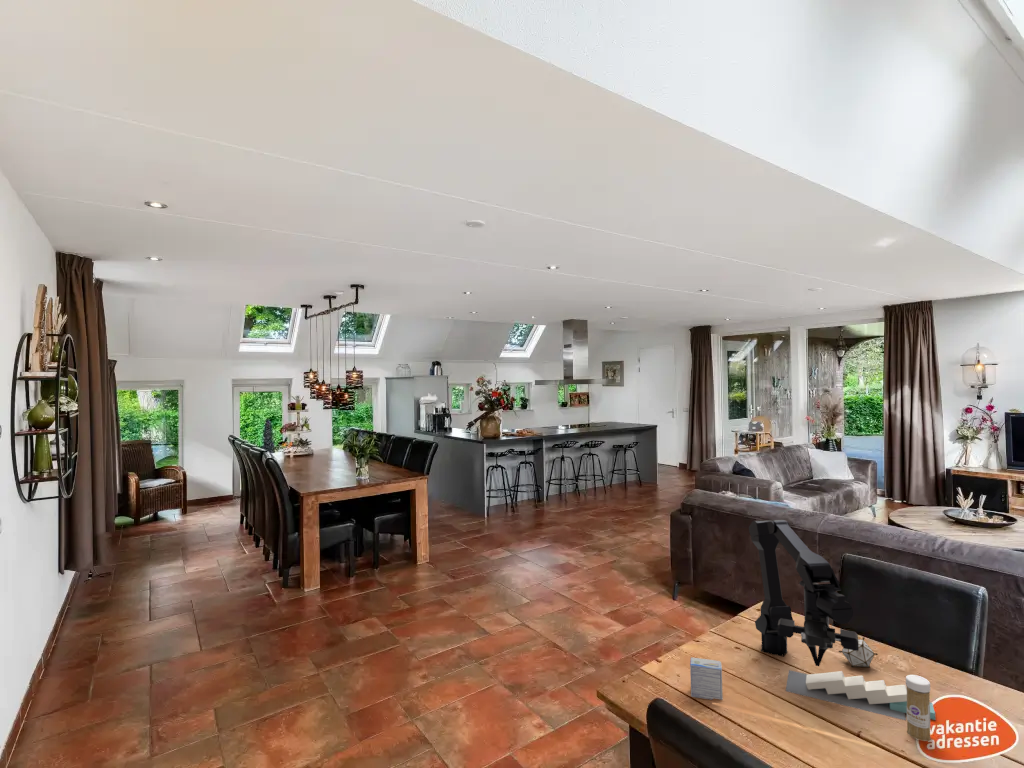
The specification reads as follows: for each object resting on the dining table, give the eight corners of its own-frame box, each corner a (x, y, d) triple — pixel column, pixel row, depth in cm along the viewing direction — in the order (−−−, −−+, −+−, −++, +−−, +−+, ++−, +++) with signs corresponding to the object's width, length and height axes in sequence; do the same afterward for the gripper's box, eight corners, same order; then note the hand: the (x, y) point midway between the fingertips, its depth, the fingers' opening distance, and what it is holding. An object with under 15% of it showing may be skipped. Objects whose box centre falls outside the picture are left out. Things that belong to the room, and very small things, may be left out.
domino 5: (889, 702, 135) (935, 713, 131) (888, 692, 140) (932, 702, 135) (889, 709, 135) (935, 720, 131) (888, 699, 140) (932, 709, 135)
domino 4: (866, 697, 138) (907, 694, 133) (865, 688, 142) (905, 684, 138) (869, 704, 137) (910, 701, 133) (868, 694, 142) (907, 691, 137)
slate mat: (785, 693, 144) (785, 690, 144) (788, 672, 154) (788, 670, 154) (906, 722, 131) (905, 720, 131) (900, 697, 141) (900, 695, 141)
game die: (859, 676, 158) (872, 644, 161) (875, 680, 150) (888, 647, 153) (829, 657, 161) (842, 626, 163) (842, 661, 153) (856, 628, 155)
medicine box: (722, 693, 145) (721, 660, 145) (722, 702, 140) (722, 669, 141) (691, 688, 147) (690, 656, 147) (690, 697, 143) (690, 664, 143)
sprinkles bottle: (905, 738, 125) (904, 679, 125) (907, 728, 129) (906, 671, 129) (931, 746, 122) (929, 686, 122) (932, 736, 126) (930, 678, 126)
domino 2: (825, 688, 142) (863, 684, 138) (825, 679, 147) (862, 675, 142) (828, 694, 142) (866, 691, 138) (828, 685, 146) (865, 681, 142)
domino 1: (805, 683, 145) (842, 679, 140) (806, 674, 149) (842, 671, 145) (808, 689, 144) (845, 686, 140) (809, 680, 149) (844, 677, 144)
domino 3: (845, 692, 140) (885, 689, 136) (845, 683, 144) (883, 679, 140) (848, 699, 140) (887, 696, 135) (848, 689, 144) (886, 686, 140)
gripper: (775, 611, 143) (776, 670, 143) (858, 626, 134) (860, 689, 134) (778, 597, 153) (779, 652, 153) (857, 609, 143) (858, 668, 143)
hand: (817, 665), depth 146 cm, fingers closed
